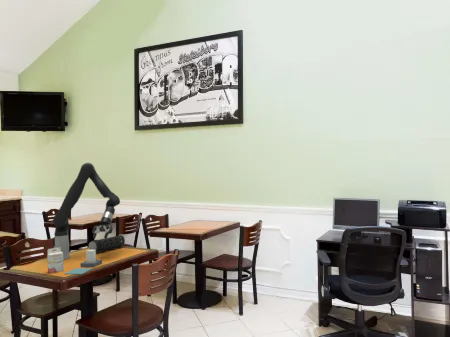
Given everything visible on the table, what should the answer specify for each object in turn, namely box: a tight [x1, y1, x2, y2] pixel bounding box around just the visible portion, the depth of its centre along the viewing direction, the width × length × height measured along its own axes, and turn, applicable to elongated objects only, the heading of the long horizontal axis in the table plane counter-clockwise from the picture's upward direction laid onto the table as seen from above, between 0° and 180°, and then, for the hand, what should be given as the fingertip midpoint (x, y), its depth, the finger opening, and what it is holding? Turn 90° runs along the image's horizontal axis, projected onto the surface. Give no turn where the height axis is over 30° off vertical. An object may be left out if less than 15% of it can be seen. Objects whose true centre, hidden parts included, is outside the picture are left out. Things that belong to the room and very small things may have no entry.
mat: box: [63, 267, 93, 275], centre depth 232 cm, size 12×12×1 cm
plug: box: [85, 249, 97, 263], centre depth 247 cm, size 4×4×10 cm
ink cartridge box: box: [46, 247, 65, 274], centre depth 235 cm, size 9×5×15 cm, turn 129°
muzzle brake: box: [88, 234, 126, 253], centre depth 292 cm, size 10×28×10 cm, turn 144°
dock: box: [79, 259, 103, 268], centre depth 247 cm, size 10×10×2 cm
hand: (99, 238), depth 258 cm, fingers open, 8 cm apart
